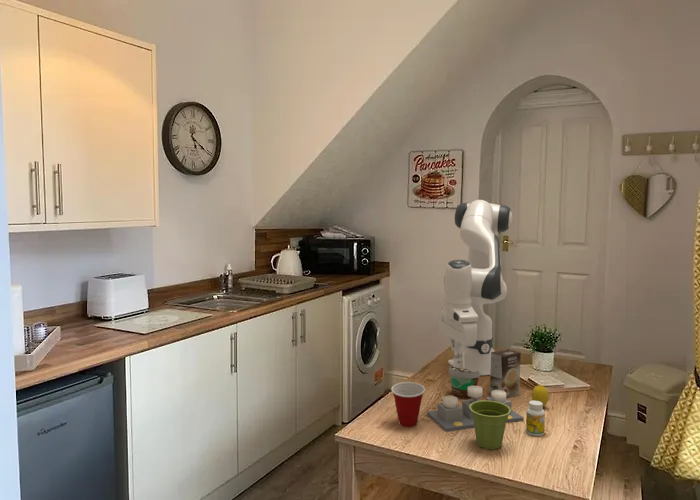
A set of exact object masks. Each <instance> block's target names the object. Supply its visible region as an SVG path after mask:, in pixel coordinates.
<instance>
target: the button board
mask: <svg viewBox="0 0 700 500" xmlns="http://www.w3.org/2000/svg"><path fill="white" fill-rule="evenodd" d="M485 400H486V401H493V400H492V399H491V396H490V397H489V396H488V397H485ZM478 401H482V400H481V399H479V398H478ZM471 403H472V398H470V399H464V400H461V405H459V404H458V407H456V408H446V407H444V406H443V402H441V403H437V409H436V410H428V411H426V415H427V416H428V417H429V418H430V419H431V420H432V421H433V422H434V423H436V424H437V425H438V426H439V427H440V428H441V429H442V430H443V431H445V432H452V431H458V430H466V429H472V428H473V429H475V427H474V421H473V417H472V412H471V410H470V408H469V406H470V404H471ZM500 403H503V404H505V405H507V406H508V407H510V409H511V412H510V414H509V415H508V419H507V421H506V424H507V423H508V424H509V423H514V422H523V421H524V417H523V416H522V415H520V414H519V413H517V412H516V411H514V410H513V409H512V401H510V400H509V398H506V401H505V402H500Z"/></svg>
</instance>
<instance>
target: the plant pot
mask: <svg viewBox="0 0 700 500" xmlns="http://www.w3.org/2000/svg"><path fill="white" fill-rule="evenodd" d="M469 408H470V410H471V412H472V417H473V421H474V434H475V441H476V444H477V446H478V447H480V448H483V449H485V450H499V448H501V447H502V446H503V440H504V435H505V430H506V425H507V423H506V421H507V419H508V415H509V414H510V412H511V410H512V408H511V409H510V407H508V406H507V405H505V404H503V403H500V402H496V401H486V399H485V400H481V401H476V402H473V403H471V404H470V406H469Z"/></svg>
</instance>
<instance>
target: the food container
mask: <svg viewBox="0 0 700 500" xmlns="http://www.w3.org/2000/svg"><path fill="white" fill-rule="evenodd" d="M448 374H449V375H450V387H451V388H450V389H451V396H455V397H457V398H459V399H464V400H471V399H472V397H469V396H468V395H467V392H468V387H469V386H478V382H479V378H480V377H481V375H480V374H479V371H477V372H471V371H469V370H467V369H461V368H456V367H453V364H452V365H450V366H449V367H448Z"/></svg>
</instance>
